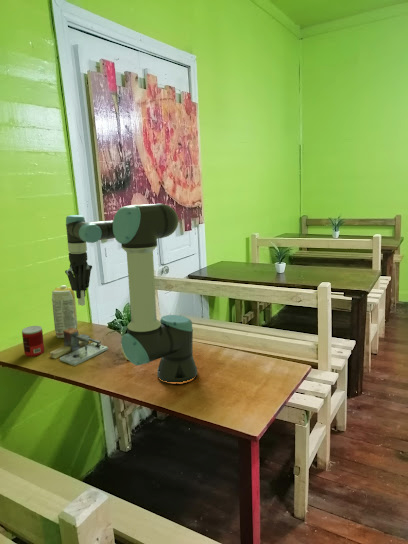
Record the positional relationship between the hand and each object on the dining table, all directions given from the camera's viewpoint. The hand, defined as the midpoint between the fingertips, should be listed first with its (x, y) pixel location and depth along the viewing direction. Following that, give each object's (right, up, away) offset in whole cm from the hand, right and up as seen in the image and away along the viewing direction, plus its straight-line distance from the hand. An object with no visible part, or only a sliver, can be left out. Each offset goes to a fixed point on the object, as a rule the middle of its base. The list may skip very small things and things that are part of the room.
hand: (81, 304), depth 176 cm
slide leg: (0, -19, -3) cm, 20 cm away
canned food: (-18, -20, -5) cm, 28 cm away
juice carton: (-11, -16, +13) cm, 23 cm away
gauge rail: (-1, -20, -4) cm, 20 cm away
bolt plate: (+3, -21, -7) cm, 22 cm away
